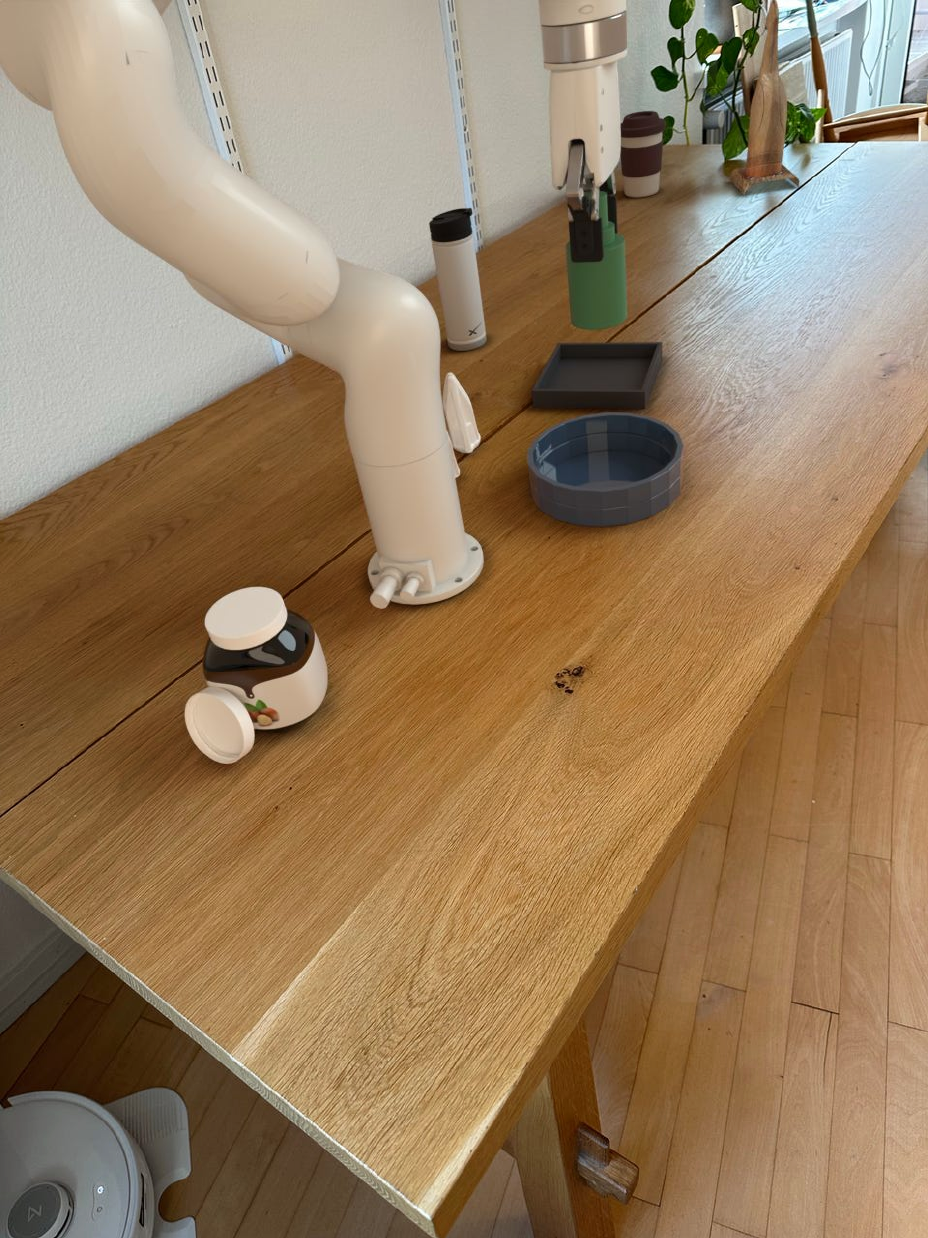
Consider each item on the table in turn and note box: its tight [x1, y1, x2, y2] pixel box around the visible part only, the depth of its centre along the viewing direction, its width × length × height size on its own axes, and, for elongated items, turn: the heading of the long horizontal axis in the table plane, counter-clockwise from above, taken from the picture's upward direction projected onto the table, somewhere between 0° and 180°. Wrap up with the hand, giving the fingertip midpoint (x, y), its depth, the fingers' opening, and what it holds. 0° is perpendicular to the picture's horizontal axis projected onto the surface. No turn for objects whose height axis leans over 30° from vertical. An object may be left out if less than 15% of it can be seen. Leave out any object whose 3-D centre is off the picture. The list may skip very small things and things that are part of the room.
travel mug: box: [428, 207, 487, 352], centre depth 133 cm, size 6×7×20 cm
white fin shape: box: [442, 372, 482, 479], centre depth 107 cm, size 12×4×11 cm, turn 156°
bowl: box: [526, 411, 685, 528], centre depth 100 cm, size 17×17×5 cm
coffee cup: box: [620, 110, 667, 199], centre depth 183 cm, size 10×10×15 cm
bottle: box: [565, 191, 628, 331], centre depth 90 cm, size 6×6×12 cm
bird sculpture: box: [729, 0, 800, 196], centre depth 169 cm, size 11×12×32 cm
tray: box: [531, 341, 663, 410], centre depth 121 cm, size 15×15×3 cm
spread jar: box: [184, 586, 329, 765], centre depth 76 cm, size 12×11×12 cm
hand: (595, 247), depth 89 cm, fingers closed on bottle, 6 cm apart
